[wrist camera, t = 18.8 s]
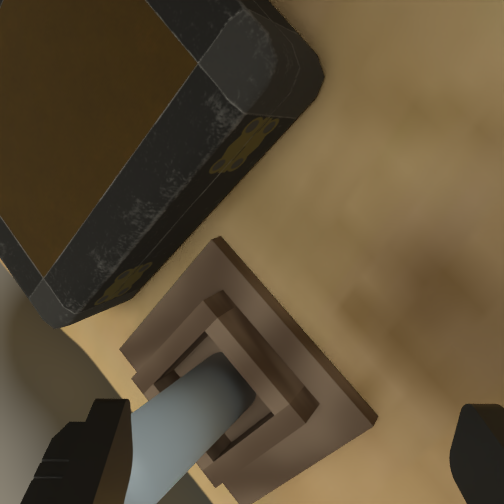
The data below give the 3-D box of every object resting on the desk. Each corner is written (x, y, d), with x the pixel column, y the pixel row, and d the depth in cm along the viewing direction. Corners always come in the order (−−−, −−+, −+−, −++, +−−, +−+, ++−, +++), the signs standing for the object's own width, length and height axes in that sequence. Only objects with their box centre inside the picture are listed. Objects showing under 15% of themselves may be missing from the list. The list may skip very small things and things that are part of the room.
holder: (129, 343, 40) (96, 361, 36) (220, 236, 33) (190, 246, 30) (250, 499, 37) (226, 532, 34) (378, 416, 30) (362, 449, 27)
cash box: (139, -147, 30) (35, -228, 23) (340, 77, 27) (285, 56, 20) (0, 132, 42) (-94, 130, 36) (126, 307, 39) (49, 341, 33)
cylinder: (193, 360, 35) (77, 441, 26) (239, 345, 33) (131, 429, 23) (218, 415, 35) (111, 517, 26) (266, 404, 33) (168, 513, 23)
